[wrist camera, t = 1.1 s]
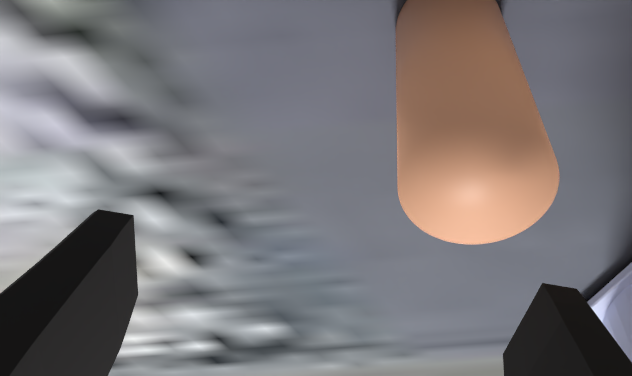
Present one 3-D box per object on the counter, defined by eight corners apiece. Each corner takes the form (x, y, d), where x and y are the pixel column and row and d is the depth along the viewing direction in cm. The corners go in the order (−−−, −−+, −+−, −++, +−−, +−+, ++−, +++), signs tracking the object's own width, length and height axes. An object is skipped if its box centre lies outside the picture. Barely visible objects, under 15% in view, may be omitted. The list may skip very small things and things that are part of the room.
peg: (523, 6, 18) (594, 158, 12) (464, 91, 20) (499, 263, 14) (428, -41, 17) (449, 92, 11) (377, 51, 19) (371, 211, 13)
